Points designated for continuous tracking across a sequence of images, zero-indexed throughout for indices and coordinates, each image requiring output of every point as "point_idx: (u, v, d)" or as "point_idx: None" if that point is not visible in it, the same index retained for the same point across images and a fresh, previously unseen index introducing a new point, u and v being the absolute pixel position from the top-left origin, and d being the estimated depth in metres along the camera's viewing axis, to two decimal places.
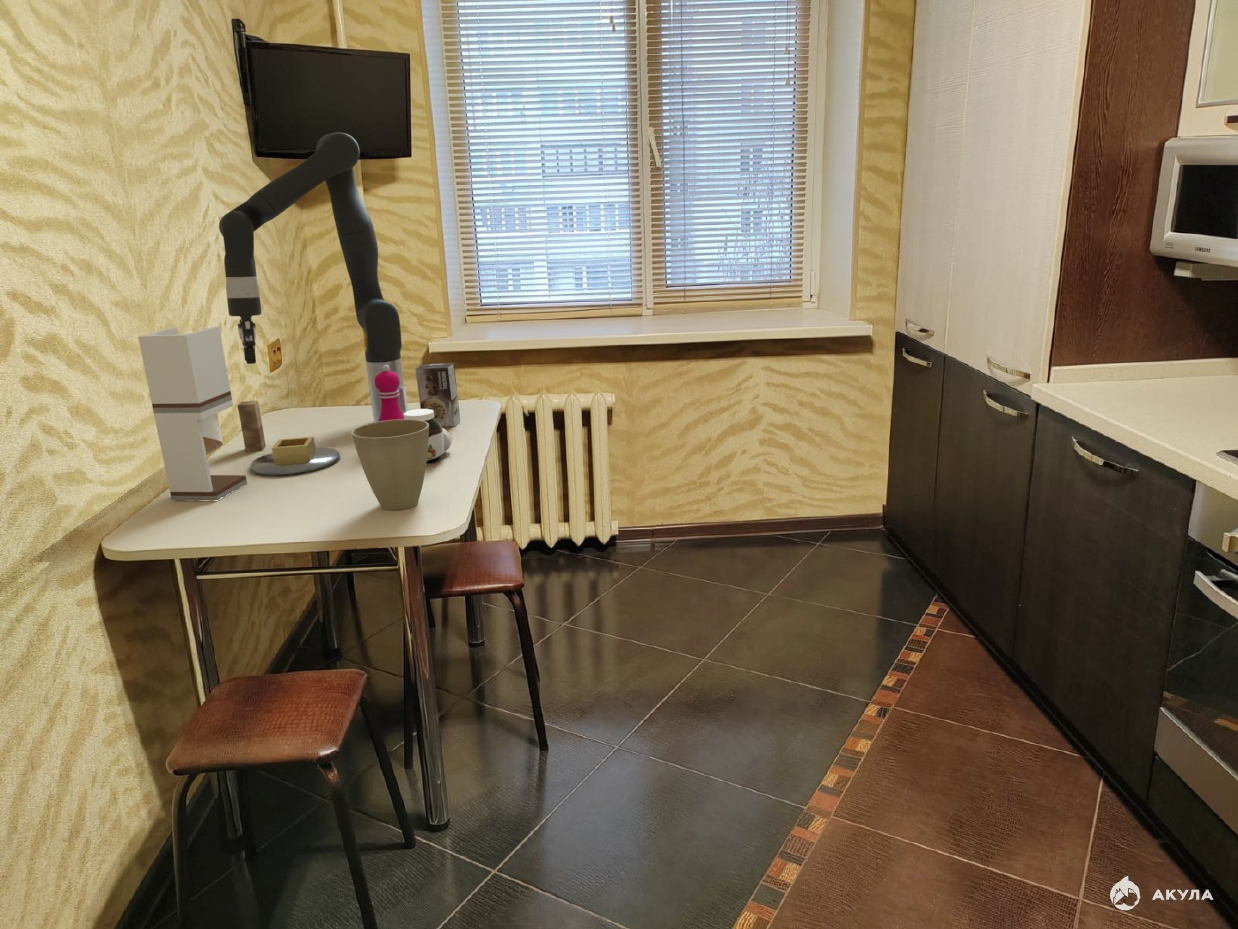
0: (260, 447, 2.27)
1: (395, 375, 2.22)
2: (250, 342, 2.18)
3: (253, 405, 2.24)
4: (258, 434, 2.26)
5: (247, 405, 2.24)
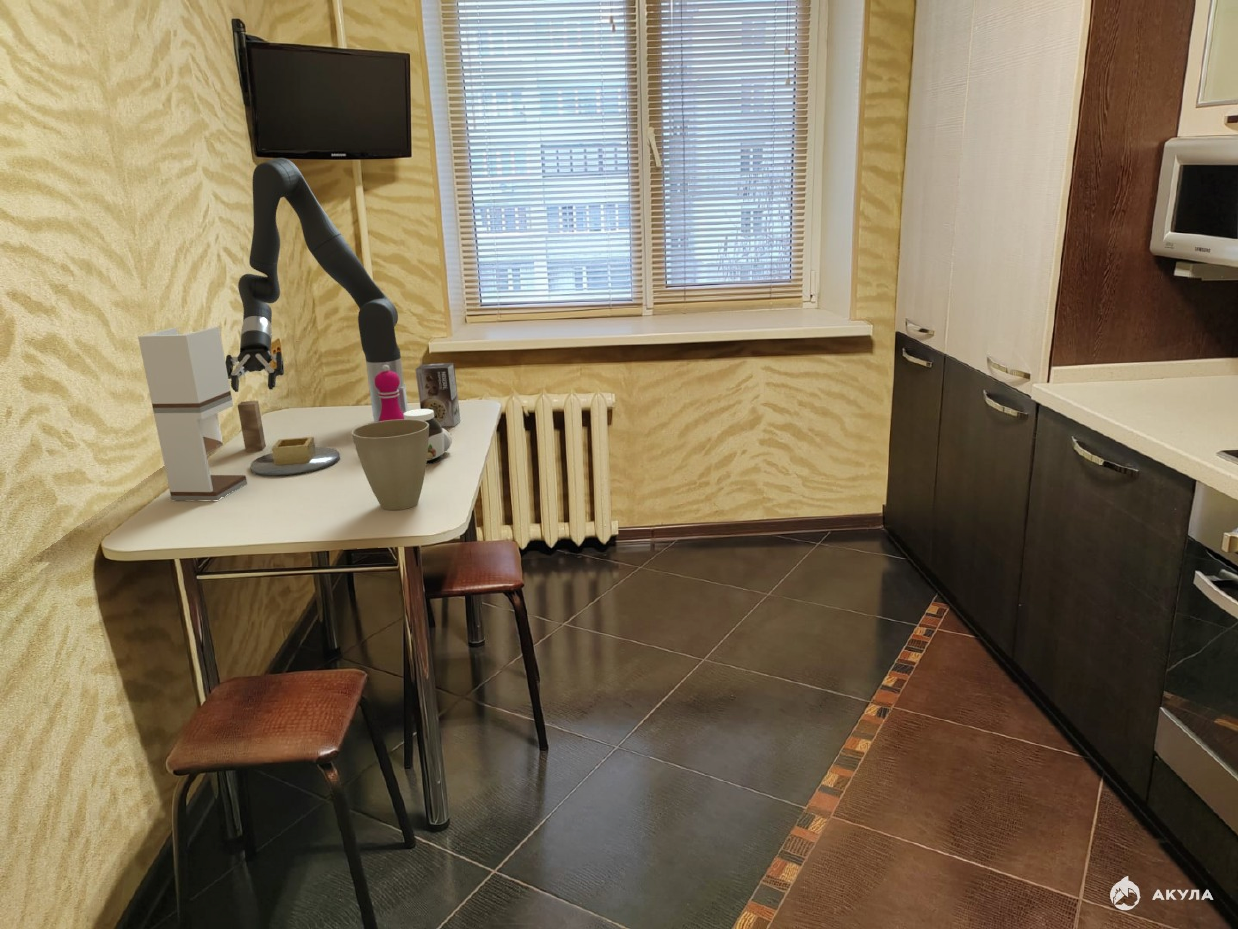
0: (260, 447, 2.27)
1: (395, 375, 2.22)
2: None
3: (253, 405, 2.24)
4: (258, 434, 2.26)
5: (247, 405, 2.24)
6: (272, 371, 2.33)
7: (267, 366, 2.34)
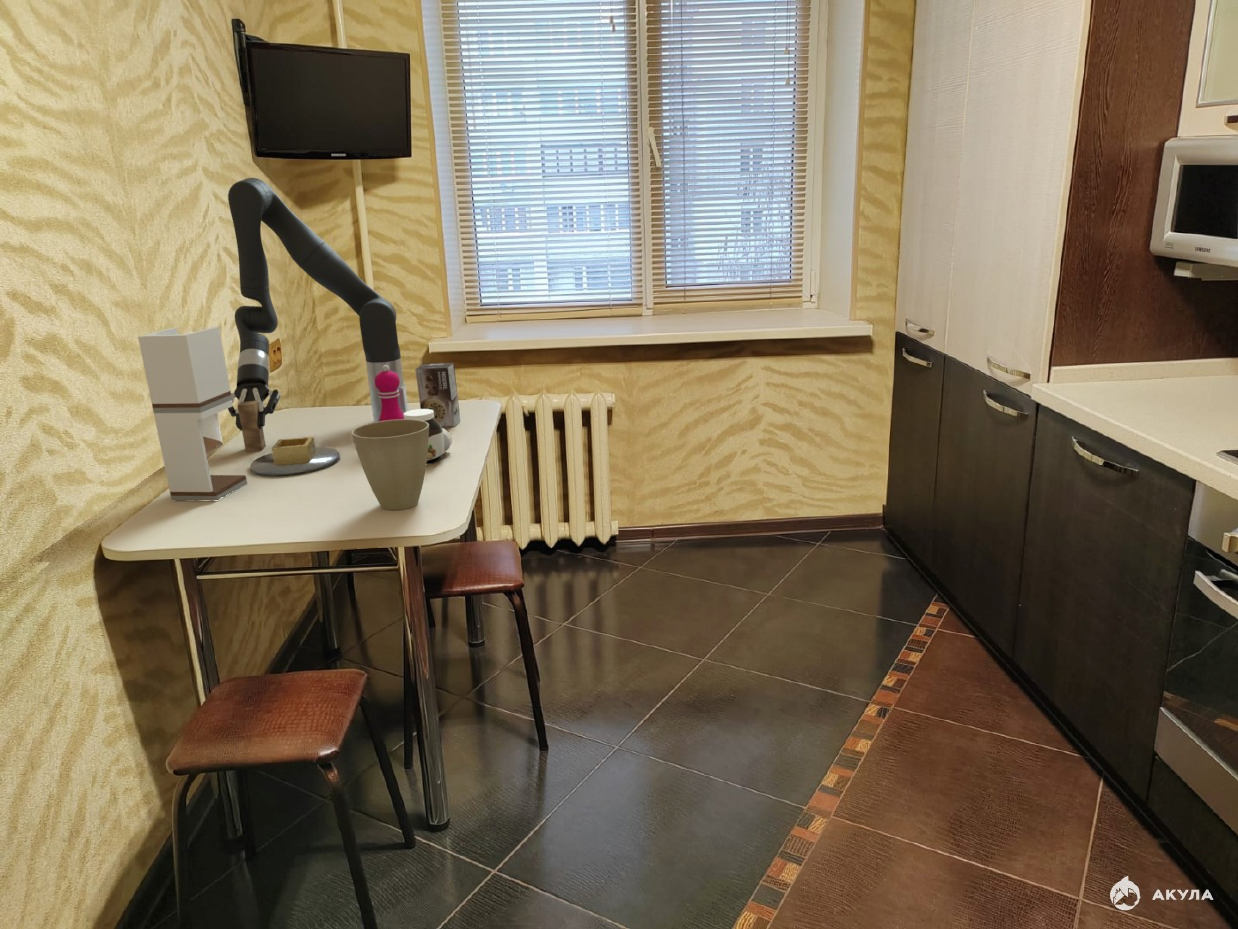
0: (260, 447, 2.27)
1: (395, 375, 2.22)
2: None
3: (253, 405, 2.24)
4: (258, 434, 2.26)
5: (247, 405, 2.24)
6: (261, 410, 2.27)
7: (259, 403, 2.27)
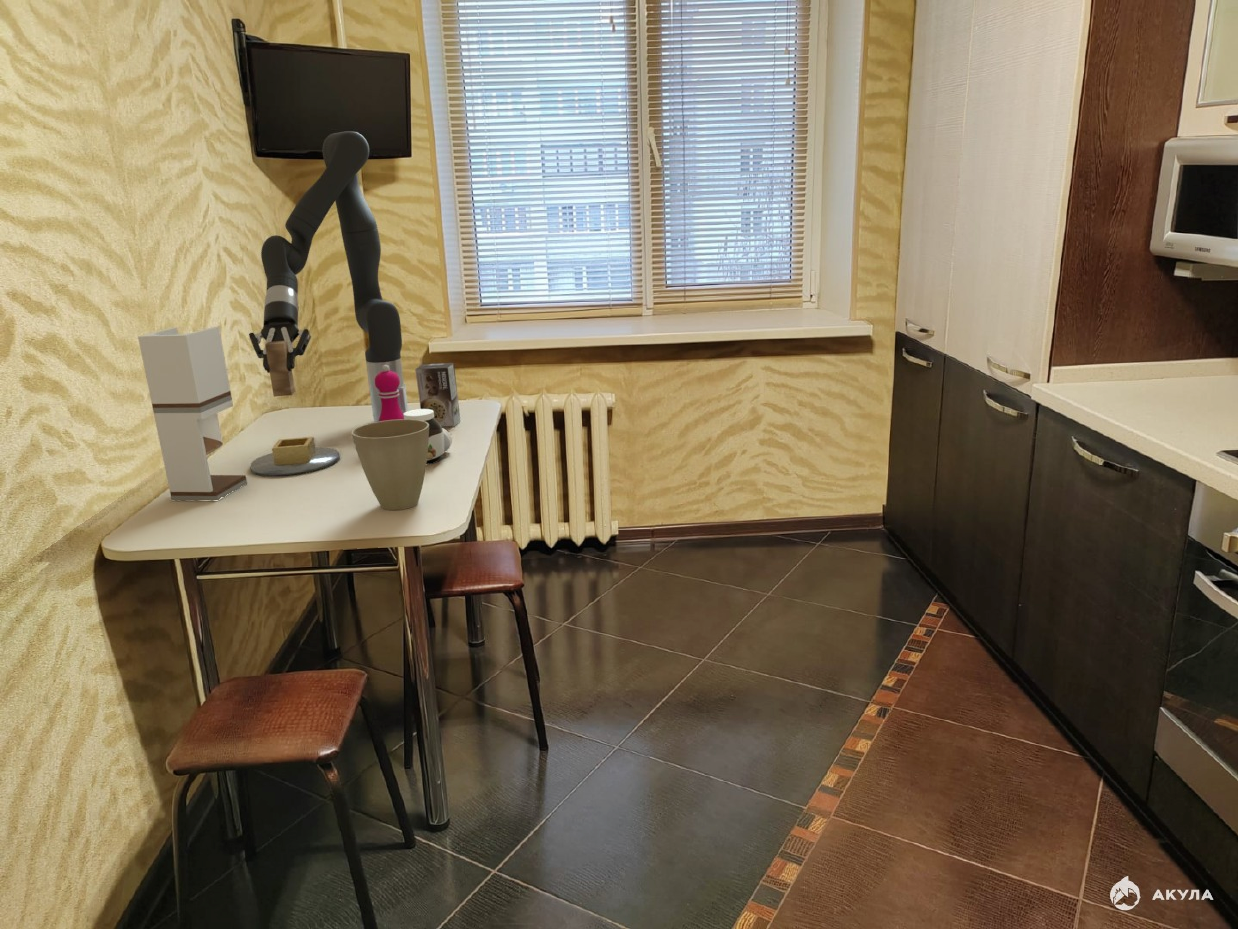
0: (289, 391, 2.08)
1: (395, 375, 2.22)
2: None
3: (282, 344, 2.05)
4: (287, 377, 2.07)
5: (275, 344, 2.04)
6: (291, 350, 2.07)
7: (288, 344, 2.08)
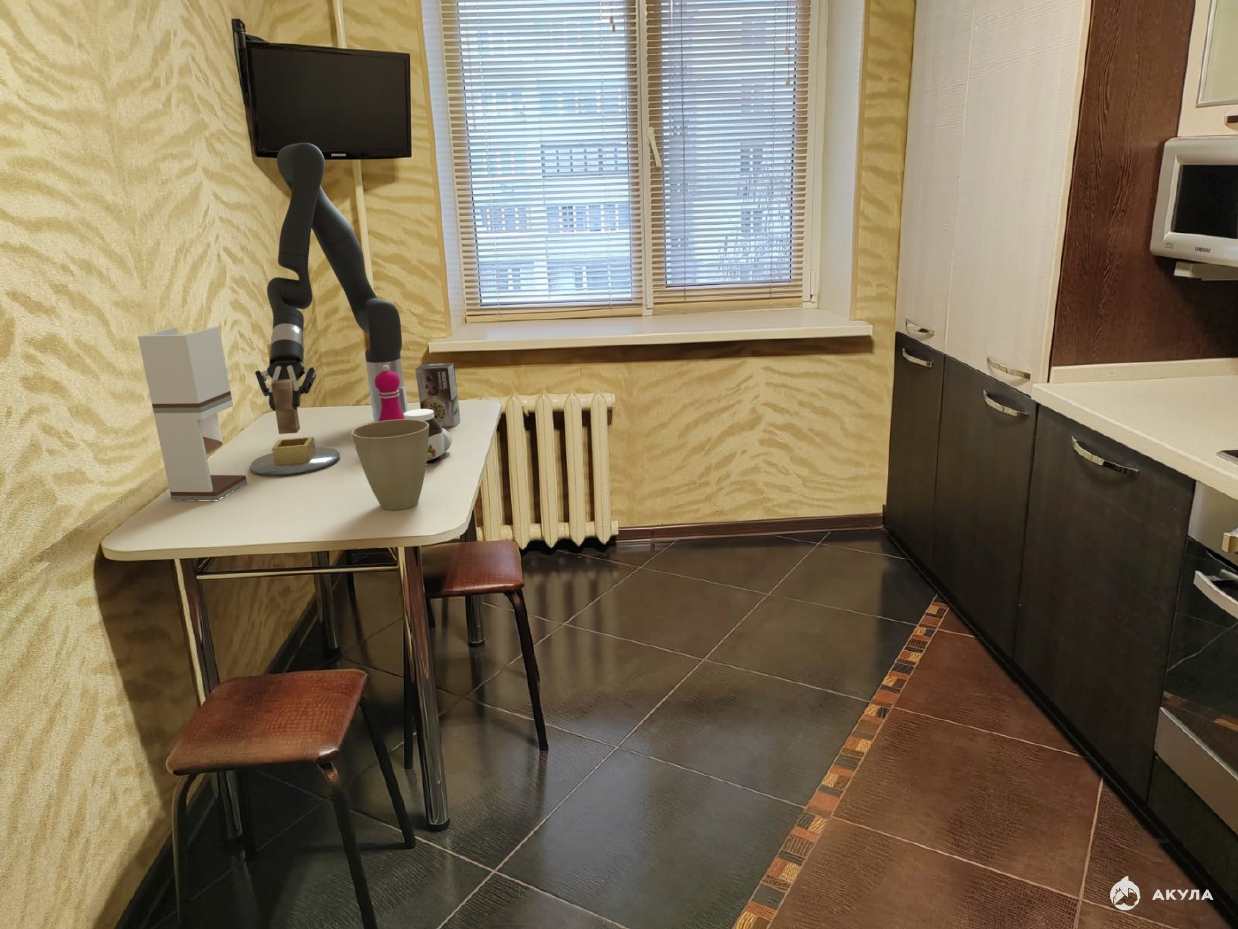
0: (294, 429, 2.10)
1: (395, 375, 2.22)
2: None
3: (288, 383, 2.07)
4: (293, 415, 2.09)
5: (281, 383, 2.07)
6: (296, 389, 2.10)
7: (294, 382, 2.11)
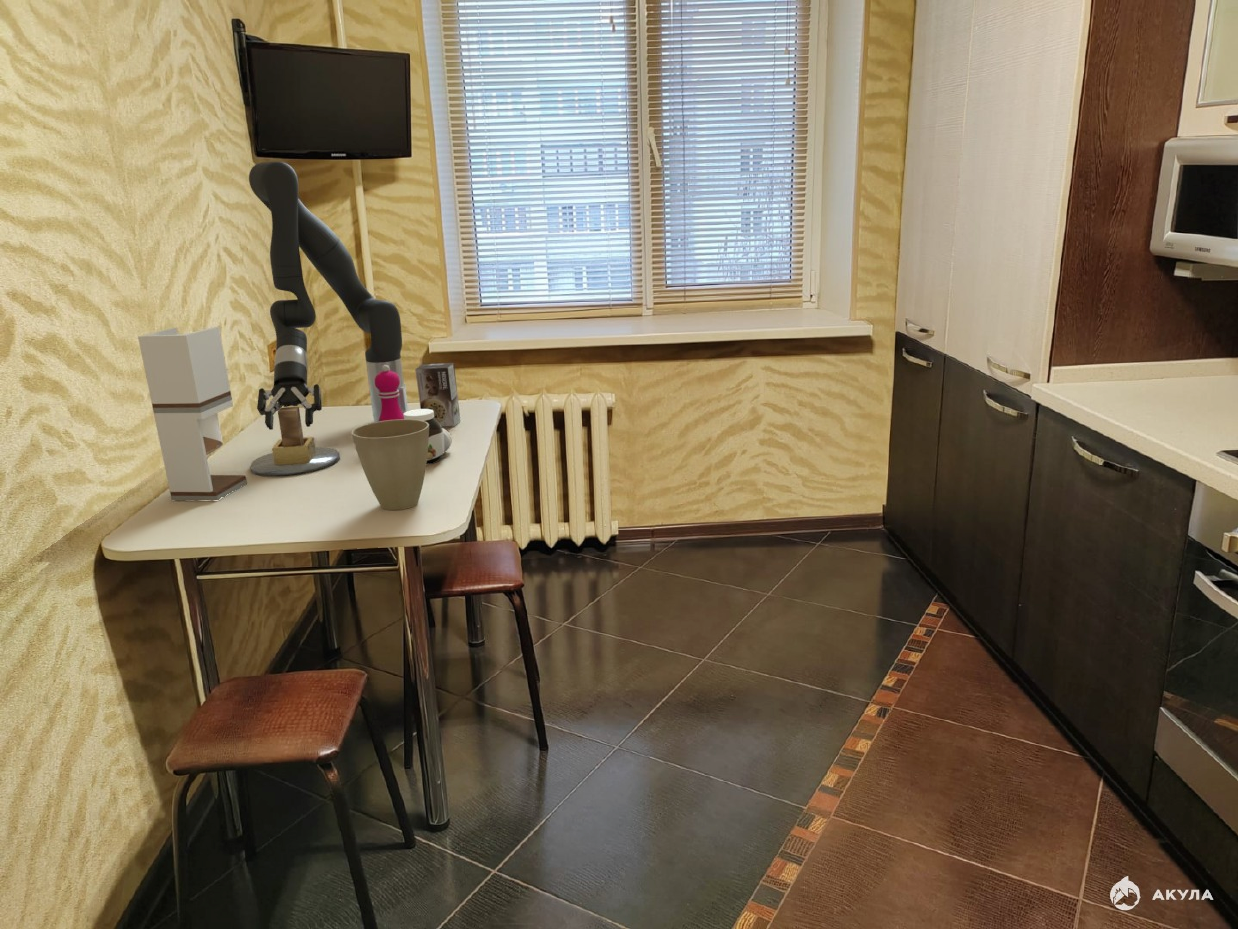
0: None
1: (395, 375, 2.22)
2: None
3: (294, 412, 2.09)
4: (299, 443, 2.11)
5: (288, 412, 2.09)
6: (309, 406, 2.12)
7: (304, 401, 2.12)
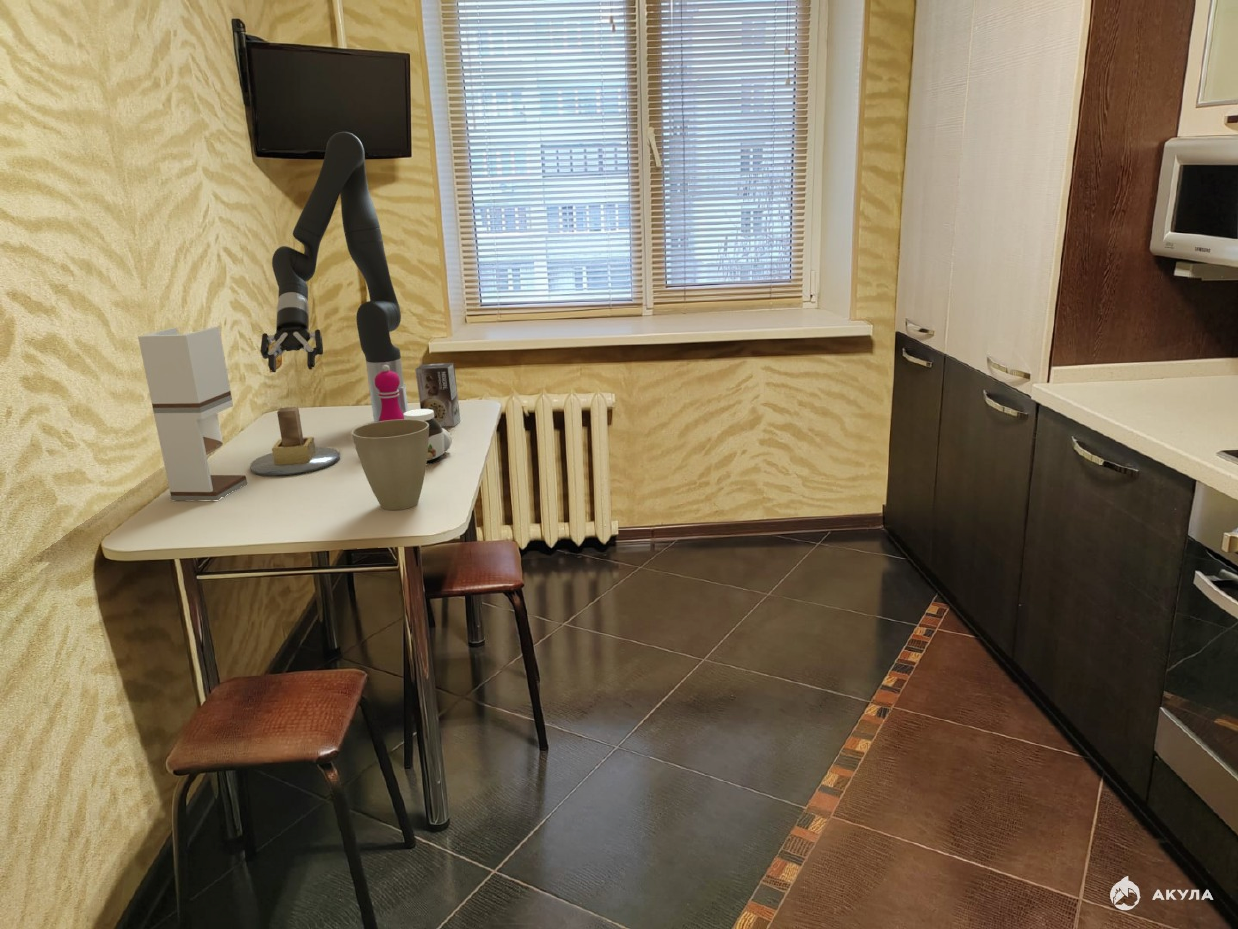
0: None
1: (395, 375, 2.22)
2: None
3: (294, 412, 2.09)
4: (299, 443, 2.11)
5: (287, 412, 2.09)
6: (311, 350, 2.20)
7: (306, 345, 2.21)
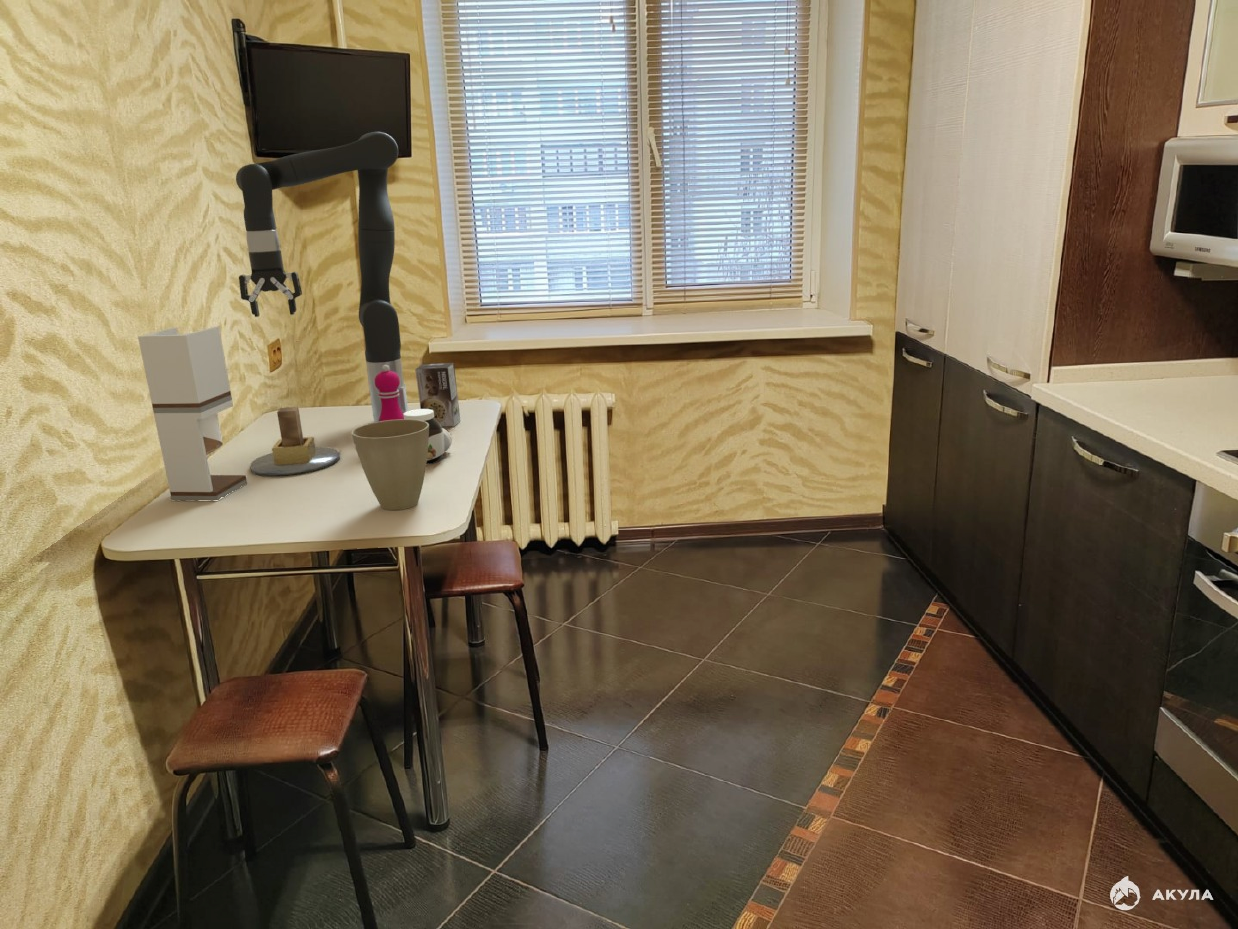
0: None
1: (395, 375, 2.22)
2: None
3: (294, 412, 2.09)
4: (299, 443, 2.11)
5: (287, 412, 2.09)
6: (291, 297, 2.26)
7: (285, 291, 2.26)
